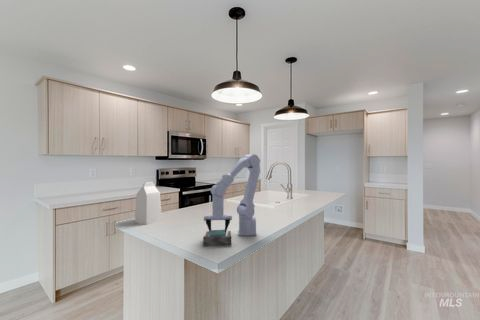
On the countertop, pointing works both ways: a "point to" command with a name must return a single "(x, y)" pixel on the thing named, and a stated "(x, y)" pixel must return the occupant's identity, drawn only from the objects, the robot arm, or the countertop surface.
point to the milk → (148, 204)
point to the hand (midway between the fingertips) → (218, 234)
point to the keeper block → (217, 233)
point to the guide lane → (216, 240)
